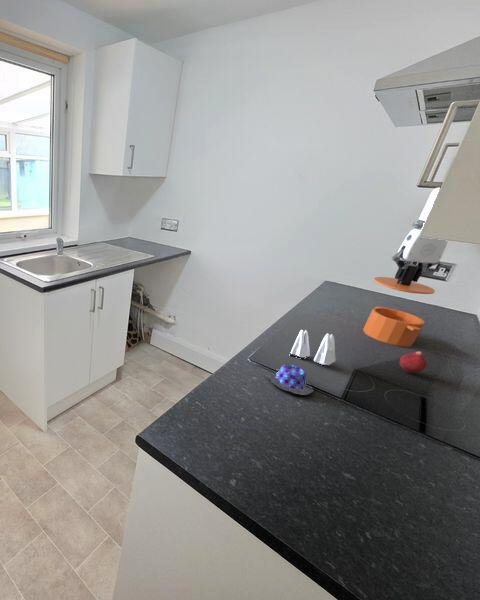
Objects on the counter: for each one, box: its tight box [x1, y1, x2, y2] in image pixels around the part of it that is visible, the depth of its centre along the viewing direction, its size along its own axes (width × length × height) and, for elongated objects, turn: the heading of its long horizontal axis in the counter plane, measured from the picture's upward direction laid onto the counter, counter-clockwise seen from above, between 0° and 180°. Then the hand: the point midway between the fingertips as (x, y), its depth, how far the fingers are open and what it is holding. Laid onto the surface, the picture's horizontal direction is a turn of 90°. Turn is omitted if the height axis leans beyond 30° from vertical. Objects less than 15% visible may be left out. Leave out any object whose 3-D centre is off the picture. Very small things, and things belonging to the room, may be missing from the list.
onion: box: [398, 351, 427, 374], centre depth 99 cm, size 6×6×8 cm
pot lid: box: [373, 263, 436, 295], centre depth 108 cm, size 16×16×8 cm
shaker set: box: [290, 329, 337, 366], centre depth 102 cm, size 12×4×11 cm, turn 49°
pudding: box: [275, 363, 307, 389], centre depth 91 cm, size 12×12×5 cm
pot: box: [362, 306, 426, 348], centre depth 121 cm, size 15×20×10 cm
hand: (405, 279), depth 109 cm, fingers closed on pot lid, 3 cm apart
